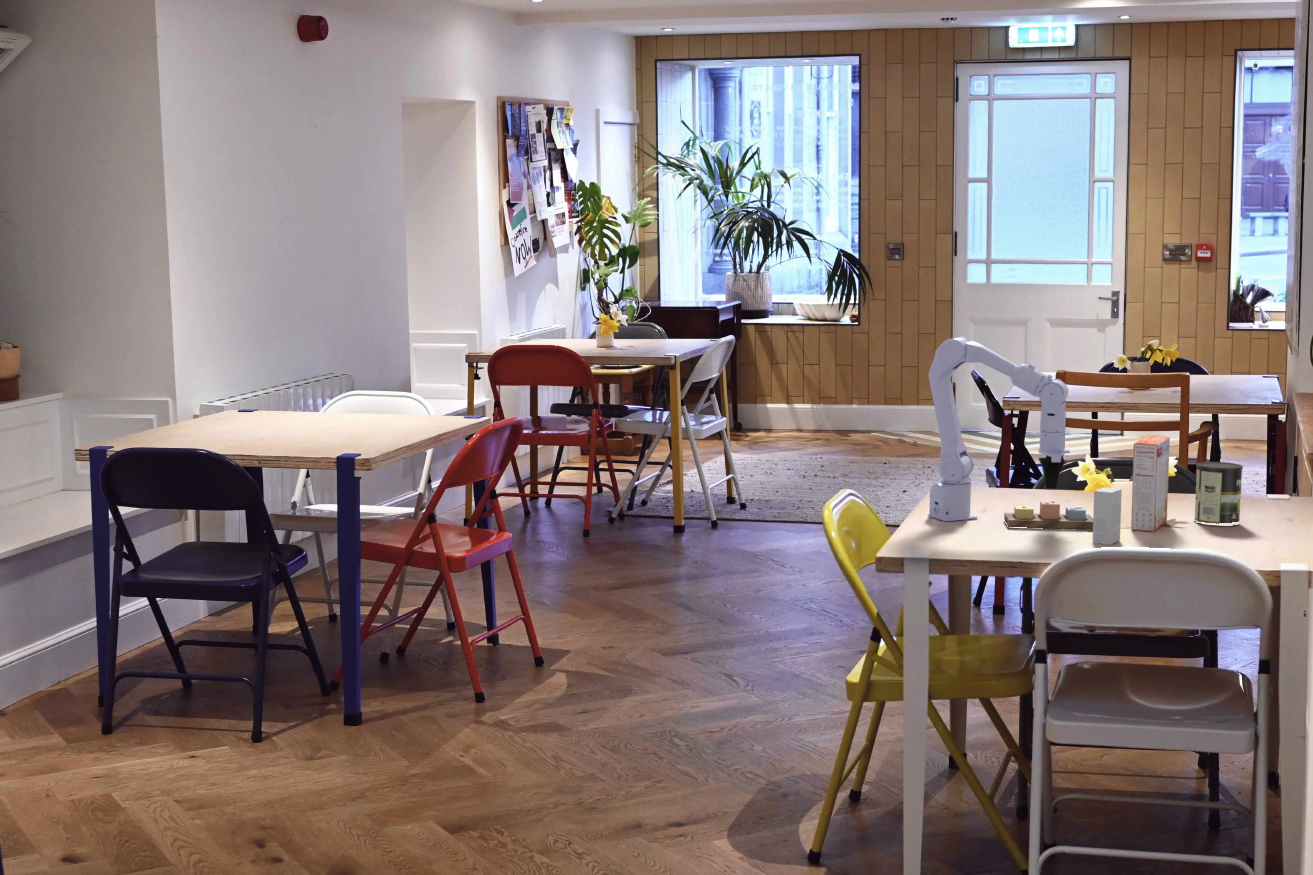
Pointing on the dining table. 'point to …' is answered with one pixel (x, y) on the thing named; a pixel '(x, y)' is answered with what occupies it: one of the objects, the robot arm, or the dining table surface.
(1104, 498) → the skincare box
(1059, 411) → the robot arm
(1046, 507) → the two dot tile
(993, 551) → the dining table surface
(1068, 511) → the light blue cube
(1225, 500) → the coffee can
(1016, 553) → the dining table surface
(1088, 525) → the brown flat board
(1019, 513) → the yellow cube
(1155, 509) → the cracker box
